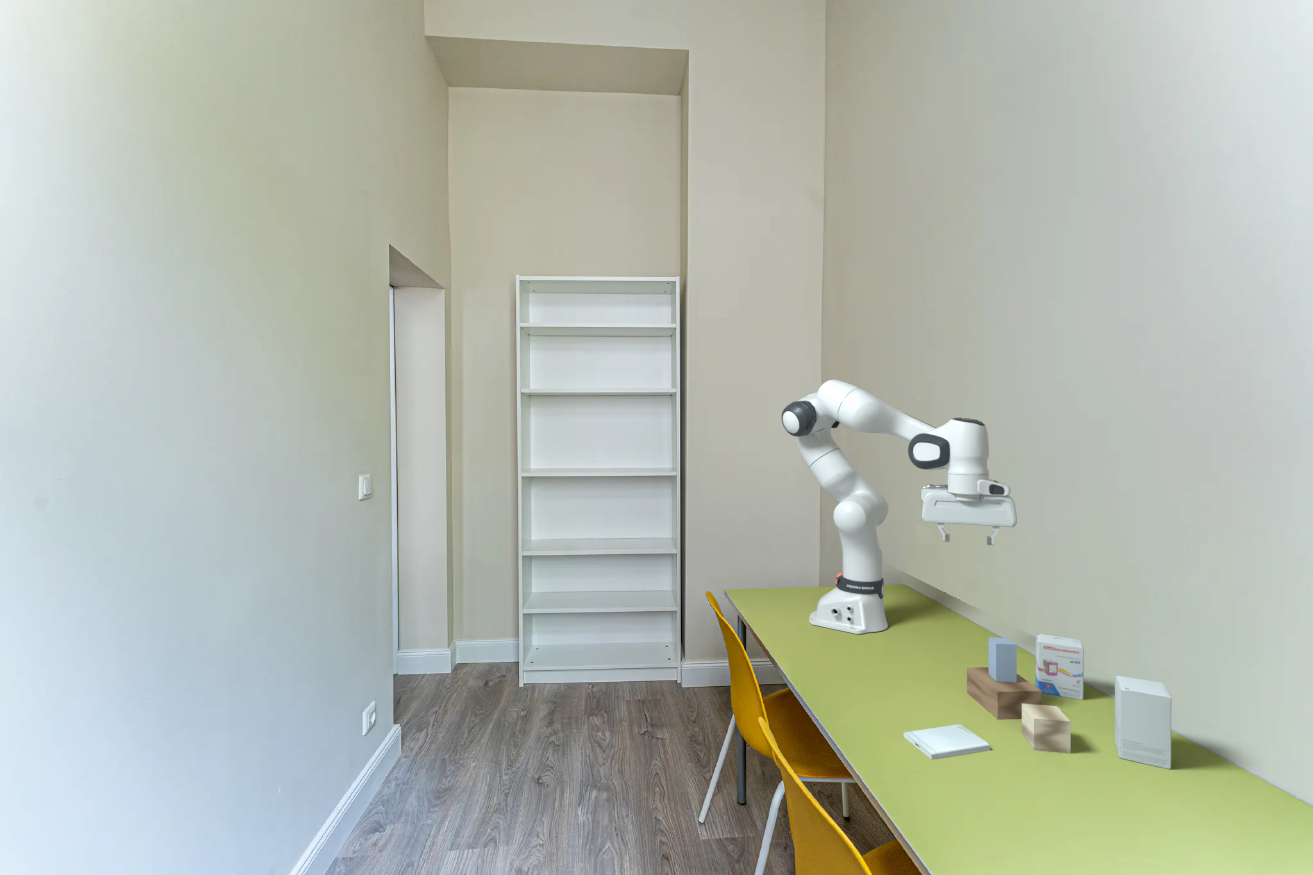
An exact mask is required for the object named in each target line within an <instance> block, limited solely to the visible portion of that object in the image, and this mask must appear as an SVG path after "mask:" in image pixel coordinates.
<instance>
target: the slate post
mask: <svg viewBox="0 0 1313 875" xmlns="http://www.w3.org/2000/svg"><path fill="white" fill-rule="evenodd" d="M1017 651H1018V650H1017V643H1015V642H1014V641H1013V640H1011V638H1009V637H993V636H992V637H990V636H988V667H989V675H990V676H991V677H992V678H993V679H994V680H995V681H996V682H1014V683H1017V674H1018V673H1017V670H1018V669H1017V667H1018V665H1017V657H1018V656H1017V653H1018V652H1017Z"/></svg>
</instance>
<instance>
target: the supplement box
mask: <svg viewBox="0 0 1313 875" xmlns="http://www.w3.org/2000/svg"><path fill="white" fill-rule="evenodd" d="M1114 679H1115V680H1114V743H1115V746H1116V750H1117V753H1118V756H1119V758H1120V759H1123V760H1128V761H1131V762H1137V763H1140V764H1145V765H1148V766H1153V767H1158V768H1163V769H1166V770H1171V769H1172V700H1173V698H1172V696H1171V694H1170V692H1169V691H1168V688H1167V687H1166V685H1165V683H1164V682H1161V681H1153V680H1147V679H1141V678H1135V677H1129V676H1122V675H1115V678H1114Z"/></svg>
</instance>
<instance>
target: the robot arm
mask: <svg viewBox="0 0 1313 875" xmlns="http://www.w3.org/2000/svg"><path fill="white" fill-rule="evenodd" d="M781 422H782V426H783V428H784V429H785V431H786V432H787V433H788V434H789V435H790V436H792V437H796V438H795V444H796V447H797V449H798V450H799V452H800V455H801V457H802V459H803V461H804V463H805V464H806V465H807V467H808V469H809V471H811V473H812V475H813V476H814V478H815V479H816V480H817V482H818V483H819V485H820V487H821V488H822V489H823V491H825V492H826V493H828V494H830V495H831V496H832V497H833V498H834V499H835V501H837V502H838V504H837V505H836V506H835V508H834V510H833V522H834V524H835V526H836V527H837V529H838V535H839V539H840V544H841V549H842V550H841V551H842V572H839V573H838V574H837V575H836V578H835V587H834V588H833V589H831V590H830V591H828V592H827V593H825V594H824V595H822V596H820V599H819V600H818V603H817V606H816V609H815V610H814V611H812V612H811V613H810V614H809V618H808V621H809V624H810V625H813V626H818V627H822V628H827V629H830V630H831V629H832V630H837V631H841V632H847V633H850V634H856V635H863V634H867V633H875V632H880V631H881V632H882V631H884V630H886V629H888V627H889V623H888V621H887V618H886V612H885V607H884V606H885V604H884V600H883V599H884V597H885V582H884V578H883V553H882V550H881V548H880V544H879V540H878V536H877V527H879V526H880V525H881V524H882V523H884V522H885V520H886V518H887V516H888V513H889V505H888V501H887V500H886V499H885V497H884V496H883V495H881V494H879V493H878V492H877V491H876V490H875V489H874V488H873V487H872V485H871V484H870V483H869V482H868V481H867V480H865V478H864V477H863V476H862V475H861V474H860V473H859V472H858V471H857V470H856V469H855V467H854V466H853V464H852V463H851V461H850V460H849V459H848V458H847V456H846V455H845V453H844V452H843V450H842V449H841V448H840V447H839V445H838V443H837V442H836V441H835V440H834V437H833V436H832V433H831V431H832V429H837V428H838V427H839V425H840V424H842V425H843V426H845V427H847V428H849V429H852V430H854V431H858V432H861V433H867V434H872V433H873V434H885V435H886V434H887V435H892V436H896V437H900V438H902V439H903V440H906V441H908V442H909V444H908V448H907V454H908V457H909V460H910V462H911V464H913V465H914V466H915V467H916V468H917V469H921V470H926V471H935V470H938V471H939V470H946V471H947V484H933V483H932V484H931V483H929V484H927V485H925V486H923V487H922V488H921V490H920V499H921V502H922V504H923V505H922V511H921V512H922V513H921V518H922V520H923V522H925V523H931V524H933V523H934V524H937V528H938V530H939V532H940V533H941V535H942V542H943V543H951V542H950V541H951V540H950V538H951V537H950V536H951V535H950V533H946V531H945V530H944V528H945V524H949V525H950V524H951V525H967V526H968V525H970V526H983V527H984V526H985V527H992V528H991V529H992V531H993V532H992V534H991V535H990V536H986V546H987V545H988V546H995V538H996V537H997V535H998V534H999V532H1000V527H1002V528H1003V527H1004V528H1014V527H1015V526H1016V525H1017V524H1018V523H1017V522H1018V514H1017V508H1016V505H1015V502H1014V500H1013V498H1012V497H1011V495H1010V494H1011V492H1012V491H1011V486H1009V484H1007V483H1005V482H1004V483H1003V482H1000V481H998V480H993V479H990V474H989V473H990V471H989V469H988V460H989V457H990V451H989V450H990V449H989V448H990V446H989V434H988V429H987V427H986V425H985V423H984V422H982V421H981V420H979V419H974V418H968V417H966V418H965V417H954V418H951V419H950V420H949V421H947V422H946V423H944V424H943V425H941V426H938V427H936V426H934V425H931V424H930V423H929V424H928V423H927V422H924V421H922V420H920V419H919V418H916V417H914V416H912V415H909V414H907V413H905V412H903V411H901V410H899V409H898V408H896V407H894V406H892V405H891V404H889V403H887V402H885V401H883V400H882V399H881V398H879V397H877V396H875V395H874V394H872V393H870V392H869V391H867V390H864V389H862V388H860V387H858V386H856V385H855V384H851V383H849V382H846V381H842V380H838V379H829V380H826V381H825V382H823V383H822V384H821V386H820V387H819V388H818V390H817V391H816V392H813V393H809V394H807V395H806V396H804V397H802V398H800V399H798V400H796V401H792V402H791V403H789V404H787V405H786V406H785V407H784V408H783V410H782V411H781Z"/></svg>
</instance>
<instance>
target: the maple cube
mask: <svg viewBox="0 0 1313 875" xmlns="http://www.w3.org/2000/svg"><path fill="white" fill-rule="evenodd" d="M1071 727H1072V722H1071V720H1070V719H1069V718H1068V717H1067V716H1066V714H1065V713H1064V712H1063V711H1062V710H1061V709H1060V708H1059V707H1058V706H1057V705H1056V706H1054V705H1046V704H1042V705H1035V704H1022V719H1021V734H1022V736H1023V738H1024V739H1025V740H1026V741H1027V743H1028V745H1030V747H1031V748H1032V750H1033V751H1038V752H1040V751H1041V752H1047V753H1050V752H1051V753H1058V754H1059V753H1060V754H1072V753H1071V745H1072V741H1071V739H1072V738H1071V734H1072V733H1071V730H1072V728H1071Z"/></svg>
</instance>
